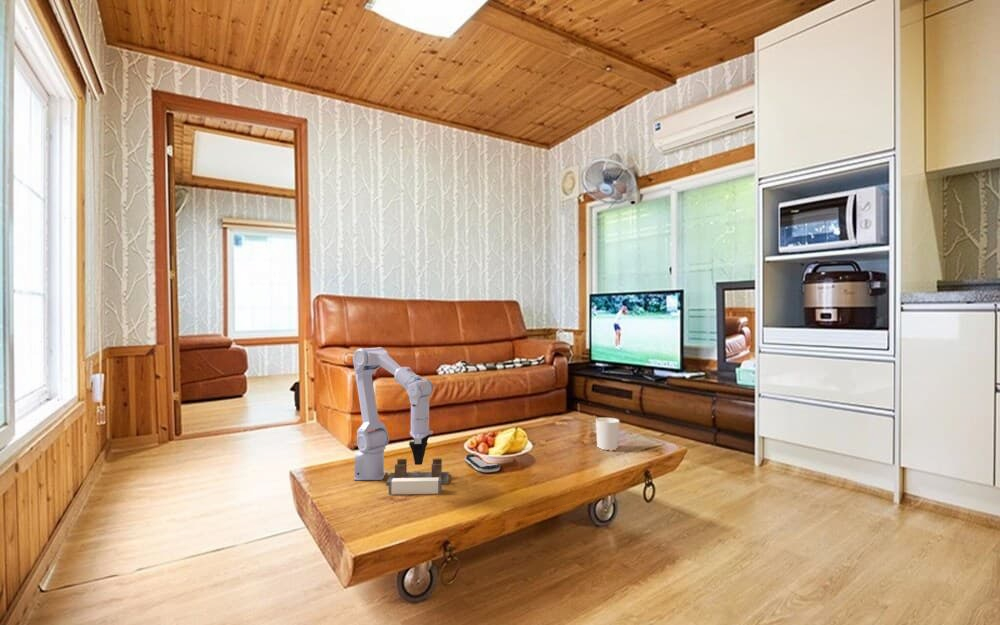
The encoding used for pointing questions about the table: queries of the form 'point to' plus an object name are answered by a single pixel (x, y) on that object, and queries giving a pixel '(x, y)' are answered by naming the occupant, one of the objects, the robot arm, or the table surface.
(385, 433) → the robot arm
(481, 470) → the gaming console
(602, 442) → the white cylinder
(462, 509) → the table surface
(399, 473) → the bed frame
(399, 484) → the rail
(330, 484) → the table surface
